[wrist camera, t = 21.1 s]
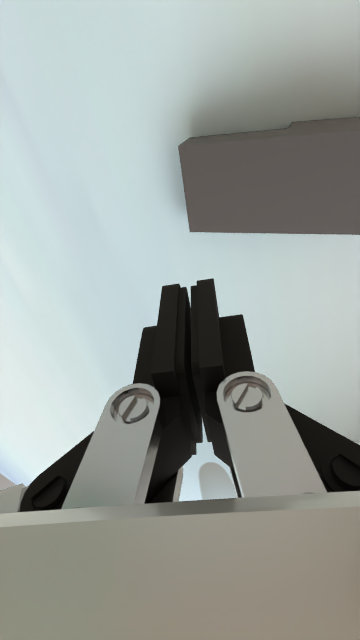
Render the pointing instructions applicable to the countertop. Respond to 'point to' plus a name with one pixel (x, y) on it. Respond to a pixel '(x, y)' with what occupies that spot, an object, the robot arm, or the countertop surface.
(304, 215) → the domino
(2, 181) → the countertop surface
